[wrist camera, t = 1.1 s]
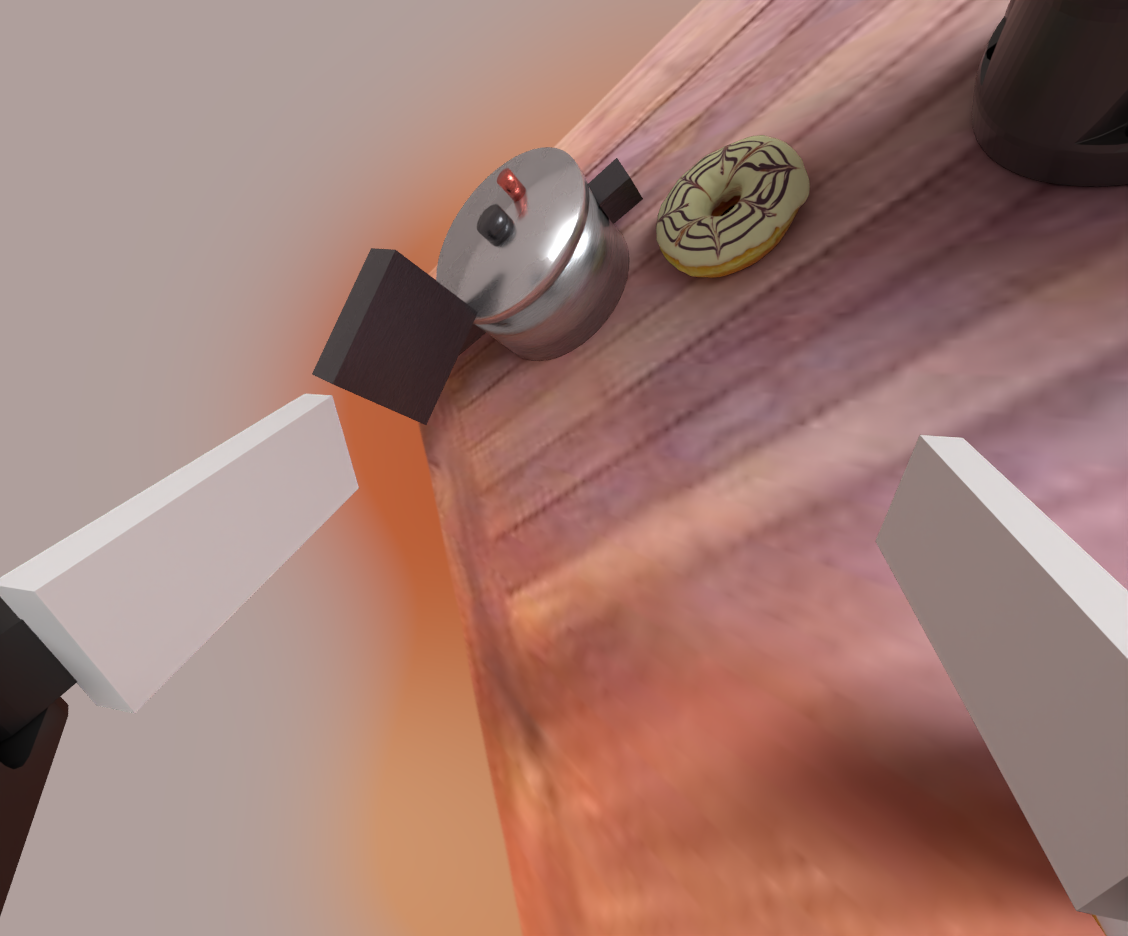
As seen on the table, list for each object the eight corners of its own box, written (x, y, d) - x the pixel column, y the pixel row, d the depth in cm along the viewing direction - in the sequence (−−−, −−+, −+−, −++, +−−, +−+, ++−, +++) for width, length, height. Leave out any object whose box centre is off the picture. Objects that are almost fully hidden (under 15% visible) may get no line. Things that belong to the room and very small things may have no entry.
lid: (491, 166, 46) (414, 78, 39) (621, 149, 36) (550, 29, 29) (381, 403, 45) (282, 359, 38) (482, 451, 36) (375, 404, 28)
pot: (622, 169, 46) (584, 107, 41) (685, 265, 39) (649, 205, 33) (435, 335, 56) (385, 303, 51) (458, 436, 49) (402, 411, 44)
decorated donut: (845, 189, 33) (839, 146, 30) (730, 310, 36) (715, 281, 33) (738, 149, 39) (725, 110, 36) (646, 256, 42) (627, 227, 39)
